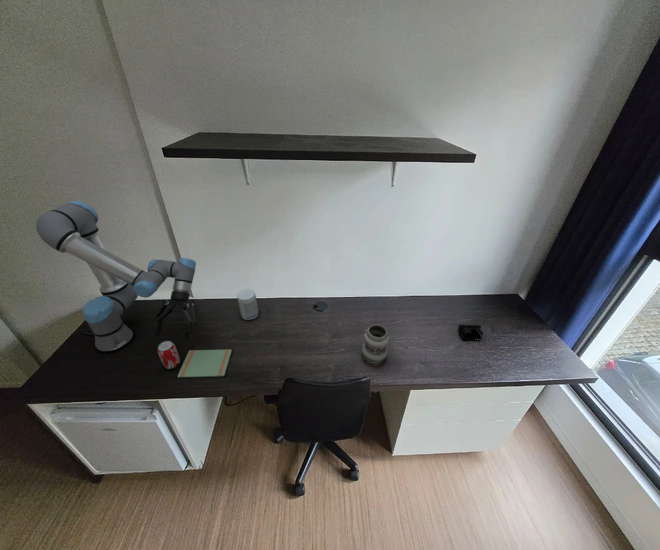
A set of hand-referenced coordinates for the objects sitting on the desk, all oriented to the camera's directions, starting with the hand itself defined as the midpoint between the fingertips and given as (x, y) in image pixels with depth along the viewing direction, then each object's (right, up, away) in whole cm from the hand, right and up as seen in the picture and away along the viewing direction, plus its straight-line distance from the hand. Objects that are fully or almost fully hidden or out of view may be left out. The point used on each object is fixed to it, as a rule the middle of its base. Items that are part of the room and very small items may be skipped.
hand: (170, 338), depth 130 cm
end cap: (+144, -4, +23) cm, 146 cm away
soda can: (-1, -12, +3) cm, 13 cm away
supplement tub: (+26, +6, +32) cm, 42 cm away
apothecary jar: (+92, -11, +9) cm, 93 cm away
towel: (+14, -12, +4) cm, 19 cm away
